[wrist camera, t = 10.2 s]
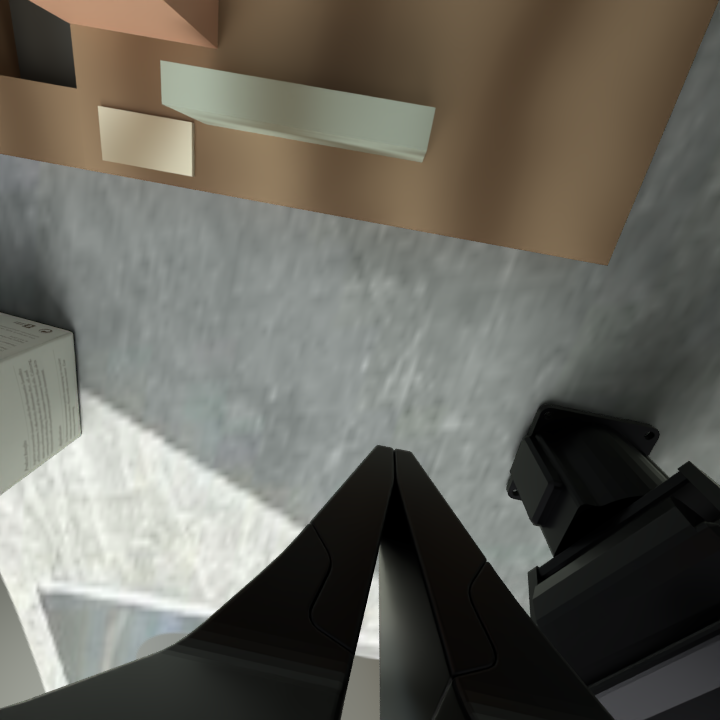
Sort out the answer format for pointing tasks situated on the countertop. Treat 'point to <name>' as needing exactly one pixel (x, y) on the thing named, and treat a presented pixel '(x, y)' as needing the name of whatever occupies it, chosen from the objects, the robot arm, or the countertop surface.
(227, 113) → the tunnel deck
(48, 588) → the countertop surface
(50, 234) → the countertop surface
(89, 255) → the countertop surface
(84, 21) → the block
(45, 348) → the skincare box
